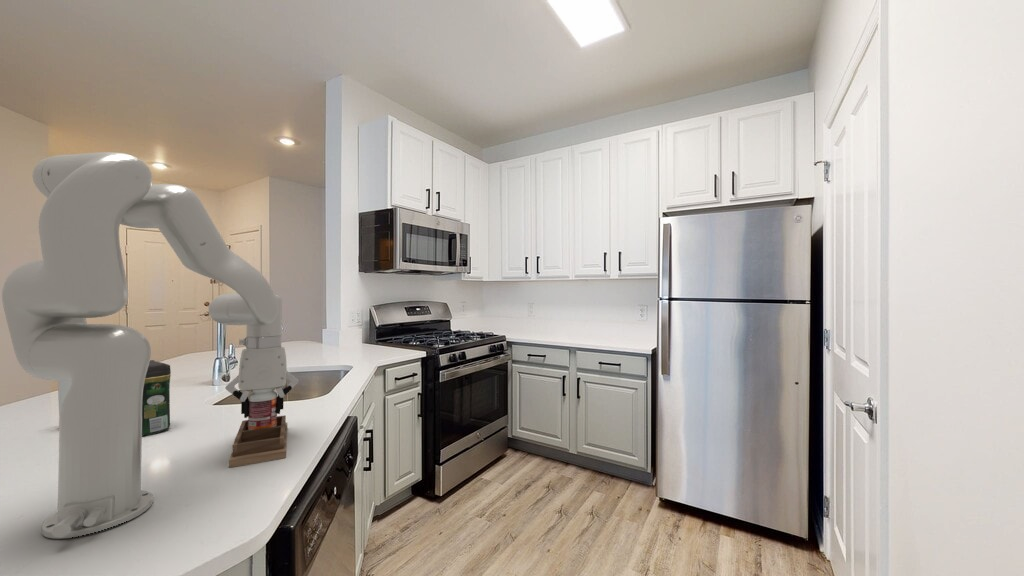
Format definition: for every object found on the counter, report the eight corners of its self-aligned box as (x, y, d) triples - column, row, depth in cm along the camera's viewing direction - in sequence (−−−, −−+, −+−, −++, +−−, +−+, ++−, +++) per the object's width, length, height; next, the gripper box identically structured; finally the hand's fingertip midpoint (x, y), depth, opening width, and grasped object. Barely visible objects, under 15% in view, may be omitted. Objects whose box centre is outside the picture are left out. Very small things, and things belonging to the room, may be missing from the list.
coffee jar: (121, 432, 103) (122, 361, 103) (160, 423, 110) (161, 357, 110) (134, 439, 98) (136, 365, 98) (174, 430, 105) (175, 360, 105)
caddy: (285, 458, 88) (285, 440, 88) (228, 467, 83) (229, 448, 83) (287, 427, 107) (287, 413, 107) (241, 434, 102) (241, 418, 102)
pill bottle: (277, 429, 98) (278, 384, 98) (247, 434, 95) (248, 387, 95) (276, 422, 103) (277, 379, 103) (247, 426, 100) (248, 382, 100)
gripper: (219, 346, 92) (217, 424, 92) (303, 342, 100) (301, 413, 100) (224, 343, 98) (223, 415, 98) (302, 339, 107) (301, 406, 106)
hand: (262, 413), depth 99 cm, fingers closed on pill bottle, 6 cm apart
